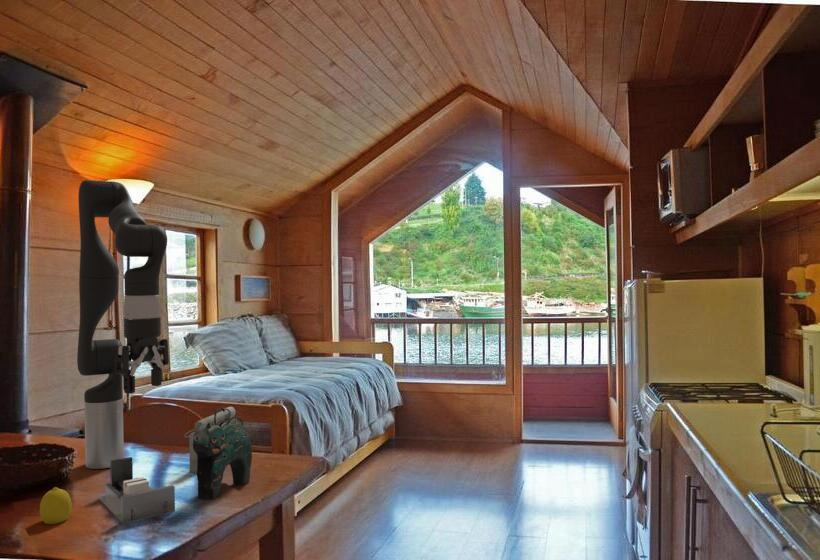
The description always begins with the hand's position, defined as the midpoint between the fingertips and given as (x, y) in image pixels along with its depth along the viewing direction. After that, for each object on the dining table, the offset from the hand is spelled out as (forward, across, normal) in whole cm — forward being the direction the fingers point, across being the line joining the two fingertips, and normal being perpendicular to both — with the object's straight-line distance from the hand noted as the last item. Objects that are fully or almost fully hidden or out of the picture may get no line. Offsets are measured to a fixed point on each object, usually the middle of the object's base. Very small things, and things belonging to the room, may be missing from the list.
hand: (143, 389), depth 140 cm
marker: (+23, +6, +3) cm, 24 cm away
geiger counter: (+26, -29, -1) cm, 39 cm away
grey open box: (+25, +6, +2) cm, 25 cm away
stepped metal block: (+23, +2, -3) cm, 23 cm away
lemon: (+25, +17, -7) cm, 31 cm away
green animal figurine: (+25, -9, +14) cm, 30 cm away
